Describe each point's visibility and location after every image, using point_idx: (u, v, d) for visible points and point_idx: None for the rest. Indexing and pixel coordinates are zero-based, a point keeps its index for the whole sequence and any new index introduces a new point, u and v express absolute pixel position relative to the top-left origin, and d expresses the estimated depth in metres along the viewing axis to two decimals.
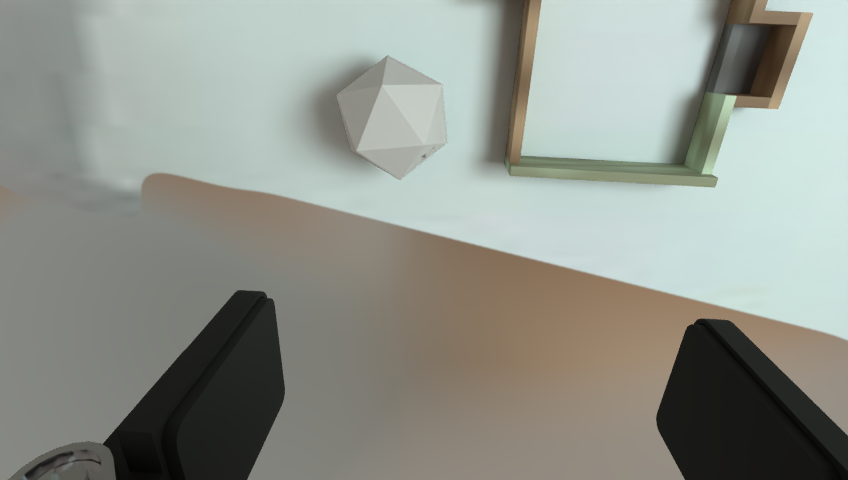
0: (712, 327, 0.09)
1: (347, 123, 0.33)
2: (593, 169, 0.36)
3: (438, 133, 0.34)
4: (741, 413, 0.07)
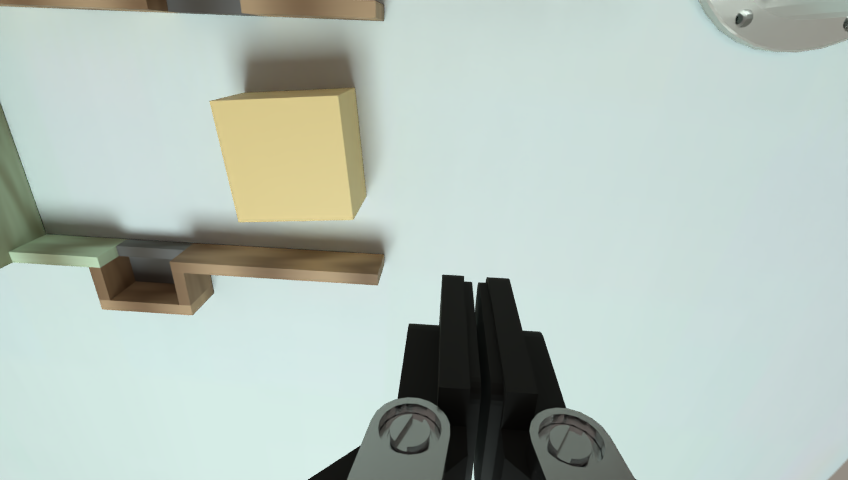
0: (488, 283, 0.10)
1: None
2: None
3: None
4: (482, 350, 0.09)
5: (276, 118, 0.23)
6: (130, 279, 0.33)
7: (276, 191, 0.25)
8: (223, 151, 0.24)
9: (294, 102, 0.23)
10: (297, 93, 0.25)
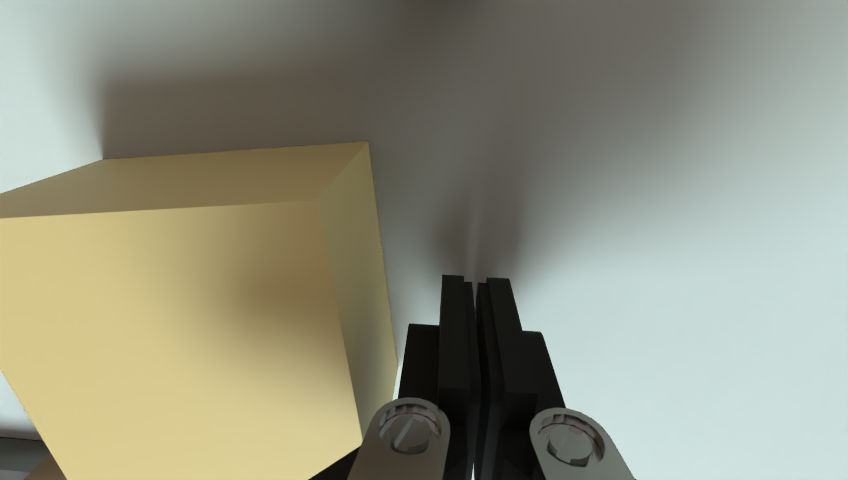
0: (488, 283, 0.10)
1: None
2: None
3: None
4: (482, 350, 0.09)
5: (129, 270, 0.07)
6: None
7: (161, 441, 0.09)
8: None
9: (173, 223, 0.07)
10: (209, 173, 0.09)
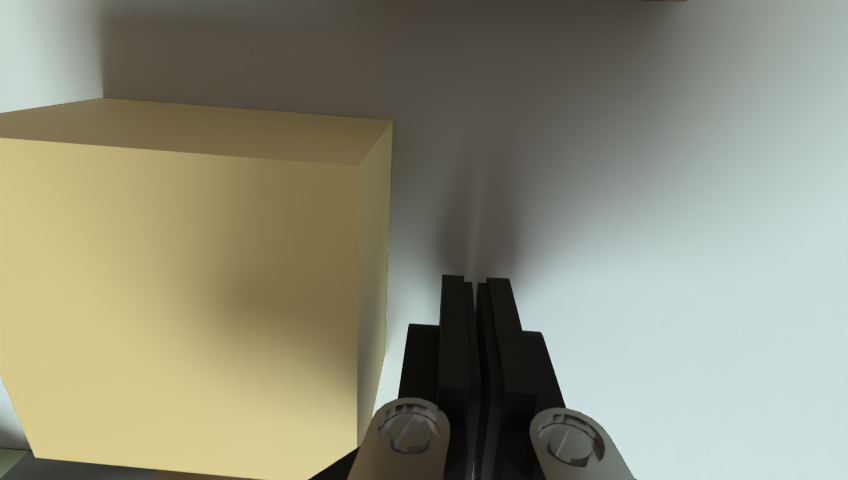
0: (488, 283, 0.10)
1: None
2: None
3: None
4: (482, 350, 0.09)
5: (138, 214, 0.07)
6: None
7: (139, 403, 0.09)
8: None
9: (199, 170, 0.07)
10: (230, 126, 0.08)
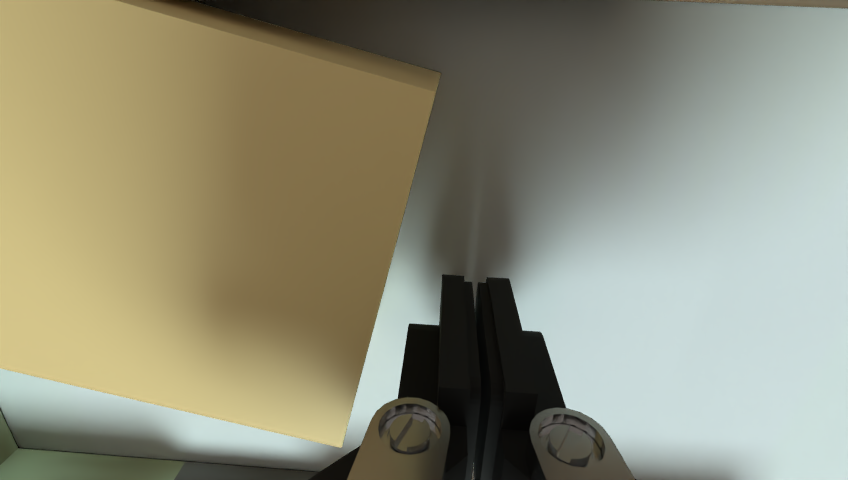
0: (488, 283, 0.10)
1: None
2: None
3: None
4: (482, 351, 0.09)
5: (174, 99, 0.06)
6: None
7: (121, 319, 0.08)
8: None
9: (257, 61, 0.06)
10: (280, 34, 0.08)
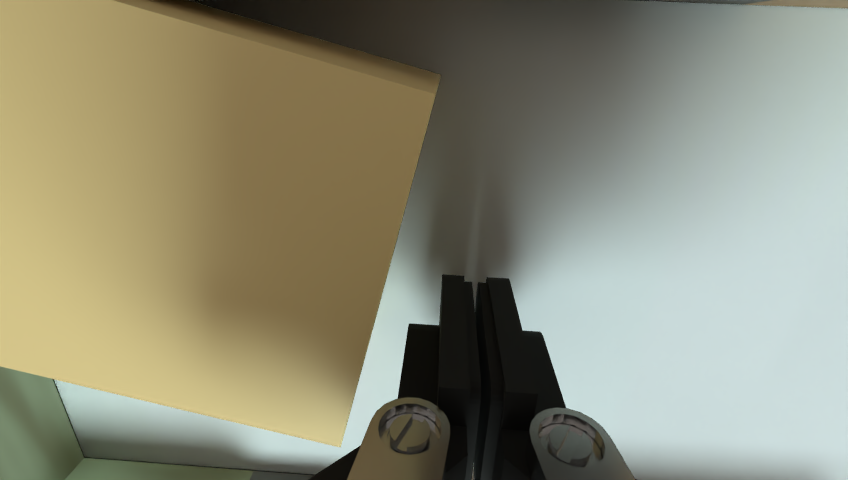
0: (488, 283, 0.10)
1: None
2: None
3: None
4: (482, 350, 0.09)
5: (176, 100, 0.06)
6: None
7: (121, 318, 0.08)
8: None
9: (258, 62, 0.06)
10: (281, 35, 0.08)
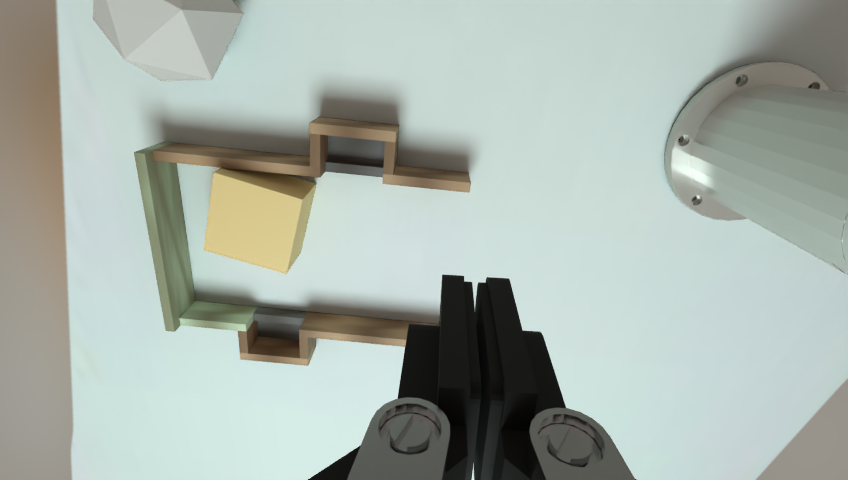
0: (488, 283, 0.10)
1: None
2: (161, 232, 0.37)
3: (157, 73, 0.30)
4: (482, 350, 0.09)
5: (256, 198, 0.34)
6: (256, 335, 0.44)
7: (238, 240, 0.36)
8: (210, 204, 0.35)
9: (271, 193, 0.34)
10: (275, 180, 0.36)
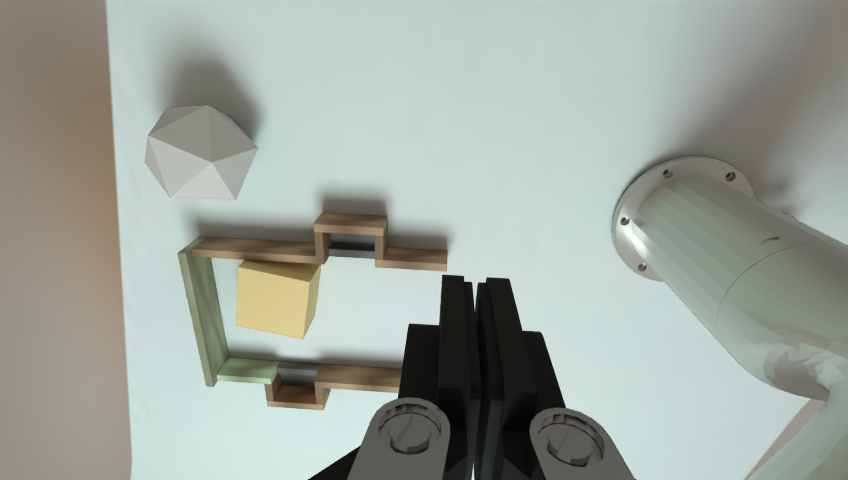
0: (488, 283, 0.10)
1: (177, 121, 0.34)
2: (200, 310, 0.45)
3: None
4: (482, 350, 0.09)
5: (273, 283, 0.42)
6: (280, 384, 0.52)
7: (262, 316, 0.44)
8: (238, 291, 0.43)
9: (285, 279, 0.42)
10: (287, 265, 0.44)
